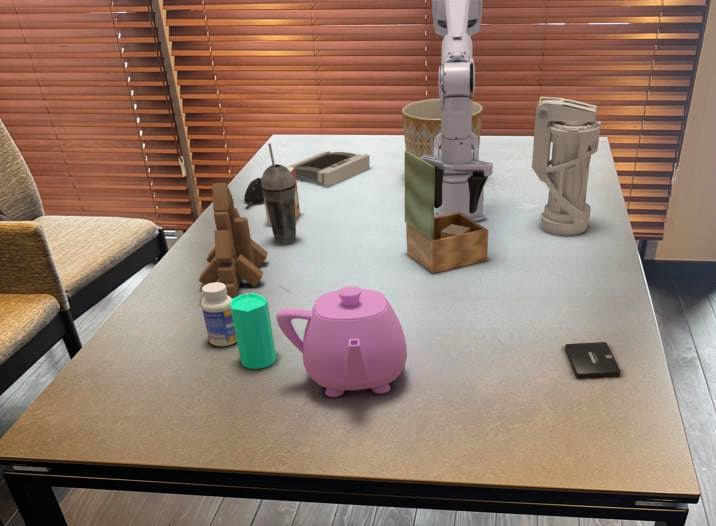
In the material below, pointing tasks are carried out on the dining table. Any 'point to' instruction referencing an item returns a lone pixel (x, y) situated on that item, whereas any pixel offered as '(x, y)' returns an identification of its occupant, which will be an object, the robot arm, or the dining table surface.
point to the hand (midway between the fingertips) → (455, 209)
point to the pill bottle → (218, 314)
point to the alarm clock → (331, 166)
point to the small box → (297, 208)
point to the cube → (454, 231)
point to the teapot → (349, 340)
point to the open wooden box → (448, 244)
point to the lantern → (565, 161)
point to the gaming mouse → (254, 193)
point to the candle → (253, 330)
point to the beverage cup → (280, 201)
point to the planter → (430, 125)
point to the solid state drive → (592, 359)
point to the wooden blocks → (232, 246)
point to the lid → (419, 194)
